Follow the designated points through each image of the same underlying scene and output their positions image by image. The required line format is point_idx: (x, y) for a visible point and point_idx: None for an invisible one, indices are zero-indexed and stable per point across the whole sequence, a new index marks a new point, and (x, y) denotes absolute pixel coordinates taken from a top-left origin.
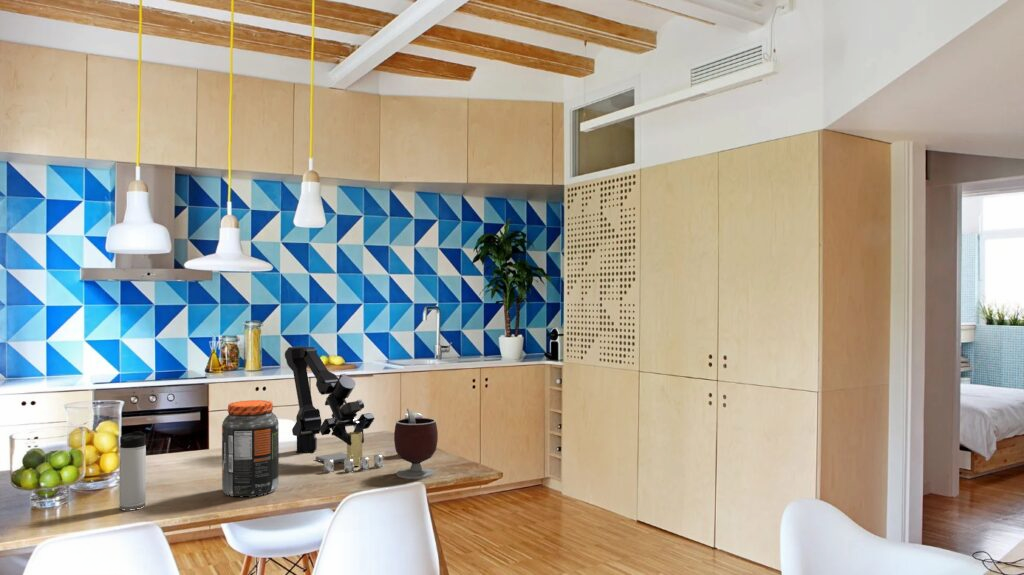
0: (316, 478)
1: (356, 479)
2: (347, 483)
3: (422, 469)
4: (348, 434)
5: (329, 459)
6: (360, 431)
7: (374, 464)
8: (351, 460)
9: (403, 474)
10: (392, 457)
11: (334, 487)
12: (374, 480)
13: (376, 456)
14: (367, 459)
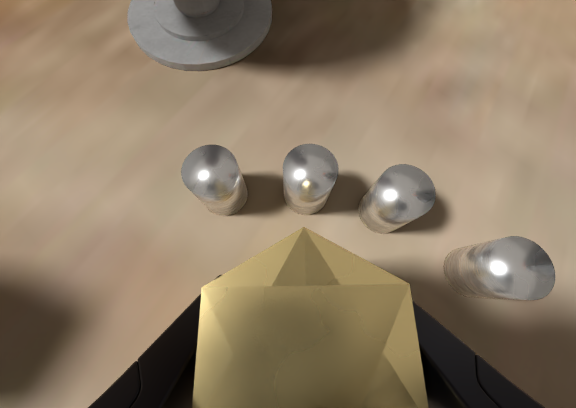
0: (556, 198)
1: (412, 83)
2: (464, 59)
3: (167, 3)
4: (415, 368)
5: (517, 273)
6: (171, 385)
7: (244, 189)
8: (401, 165)
9: (254, 10)
10: (3, 347)
11: (523, 46)
12: (364, 36)
13: (233, 157)
14: (304, 147)
